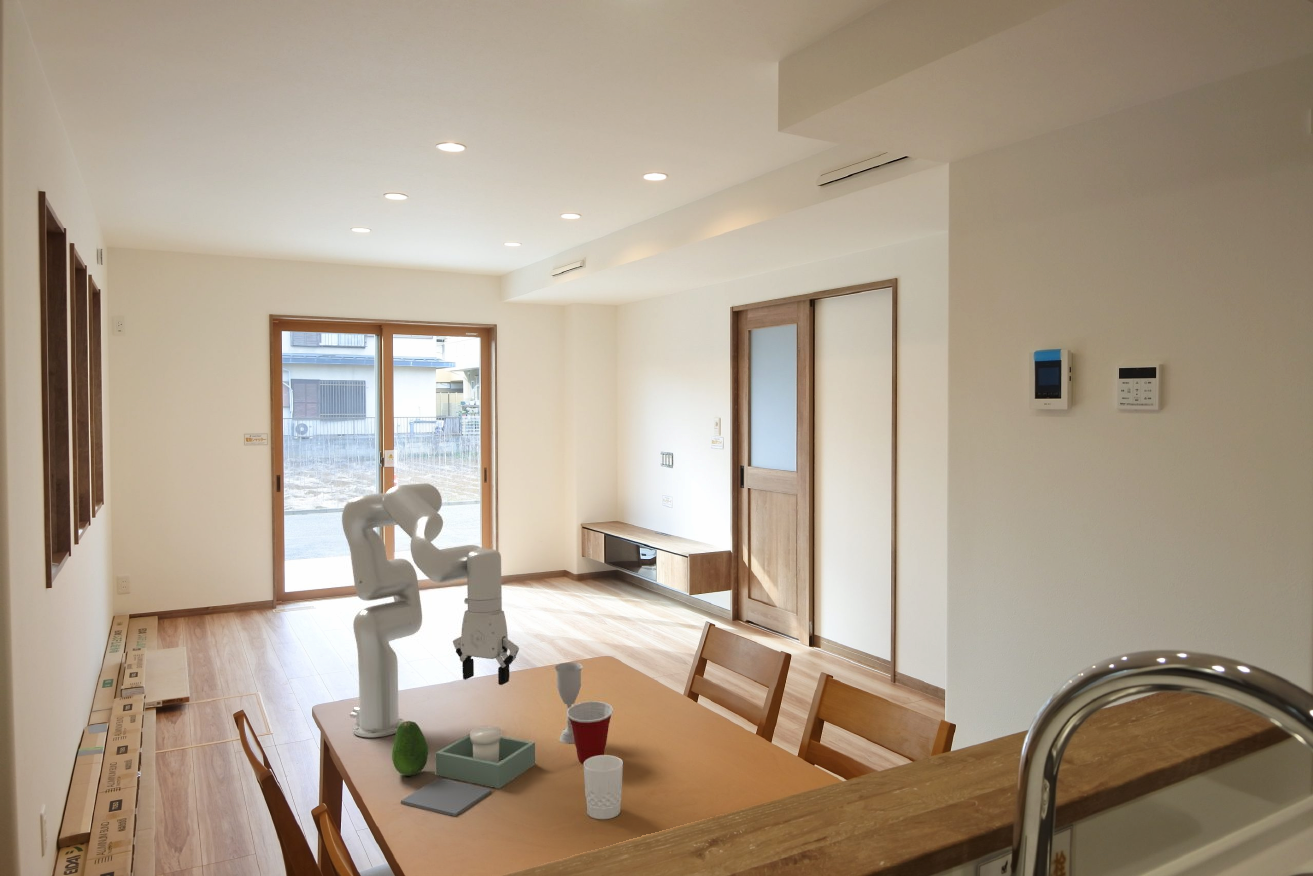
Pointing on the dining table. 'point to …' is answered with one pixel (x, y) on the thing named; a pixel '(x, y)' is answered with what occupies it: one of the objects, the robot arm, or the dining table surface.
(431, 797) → the mat
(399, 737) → the avocado
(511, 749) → the green open box
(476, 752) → the white mushroom shaped cylinder
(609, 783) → the white cup
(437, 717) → the dining table surface
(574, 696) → the chalice
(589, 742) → the plastic cup
